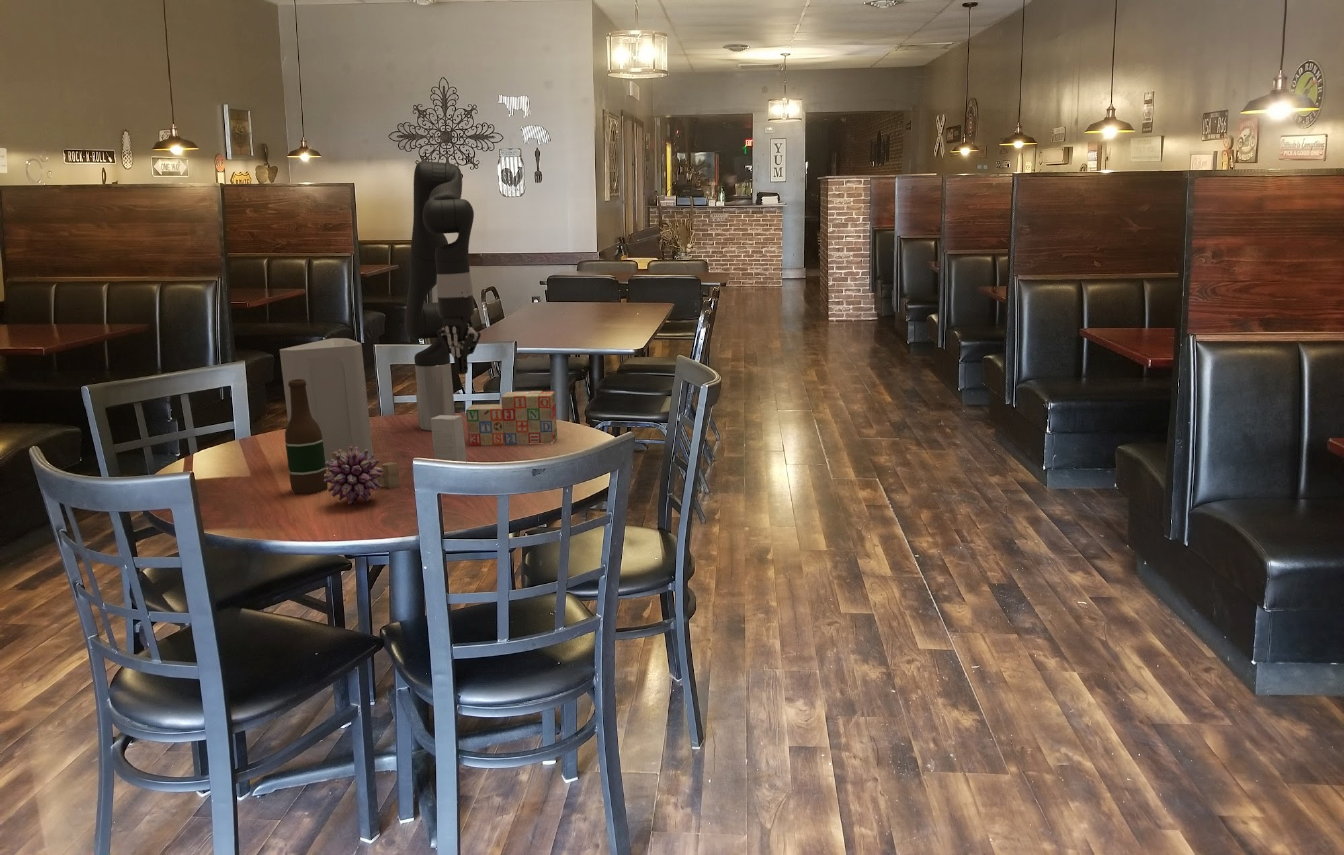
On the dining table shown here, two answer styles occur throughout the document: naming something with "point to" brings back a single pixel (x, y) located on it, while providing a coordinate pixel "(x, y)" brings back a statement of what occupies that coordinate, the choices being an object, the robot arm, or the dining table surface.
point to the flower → (353, 475)
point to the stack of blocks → (514, 420)
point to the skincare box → (448, 438)
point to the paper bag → (332, 391)
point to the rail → (384, 473)
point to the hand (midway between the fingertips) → (461, 373)
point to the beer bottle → (304, 444)
